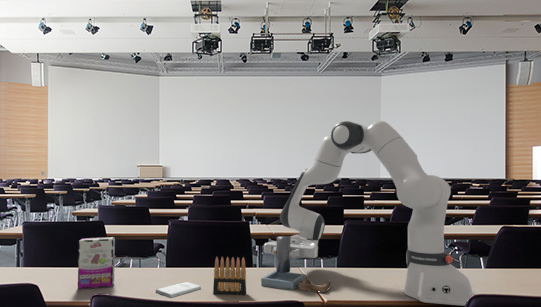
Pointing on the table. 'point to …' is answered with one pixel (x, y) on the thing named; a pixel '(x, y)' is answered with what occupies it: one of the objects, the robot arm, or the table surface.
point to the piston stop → (283, 254)
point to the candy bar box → (96, 262)
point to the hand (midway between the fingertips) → (282, 253)
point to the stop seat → (313, 286)
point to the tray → (282, 280)
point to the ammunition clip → (229, 278)
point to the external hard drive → (178, 289)
